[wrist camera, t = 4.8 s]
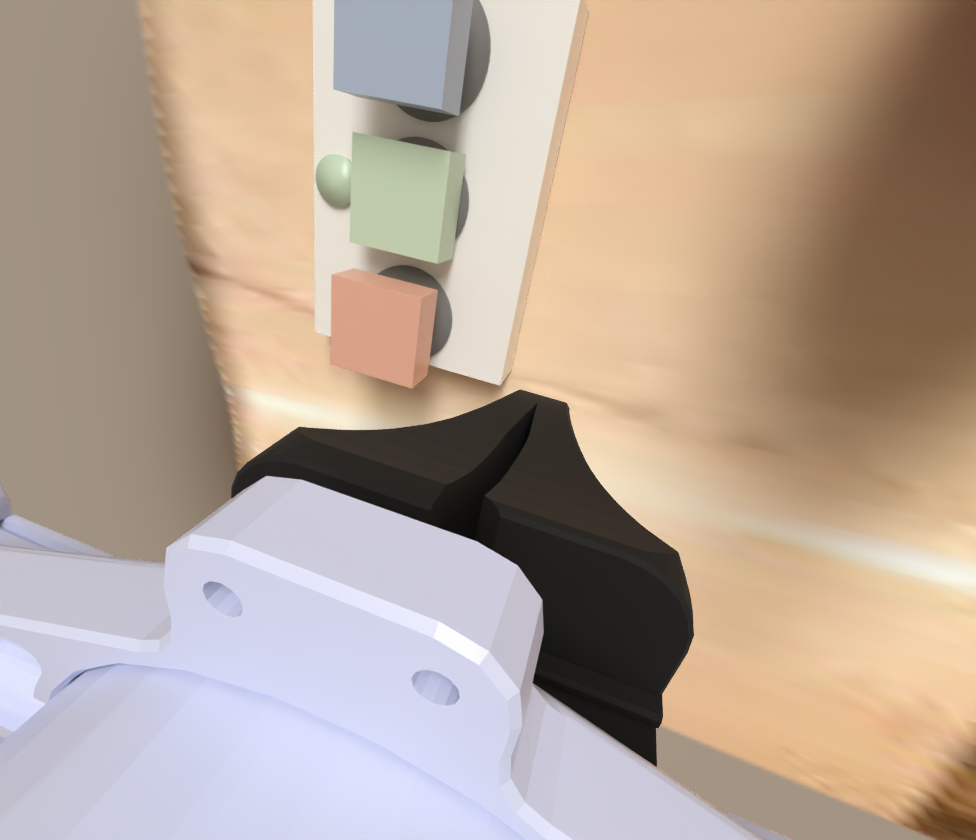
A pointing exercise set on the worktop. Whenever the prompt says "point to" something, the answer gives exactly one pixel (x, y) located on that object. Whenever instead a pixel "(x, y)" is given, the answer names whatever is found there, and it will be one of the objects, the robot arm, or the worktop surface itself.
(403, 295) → the terracotta button
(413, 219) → the sage button
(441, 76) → the slate button
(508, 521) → the robot arm
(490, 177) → the console
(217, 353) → the worktop surface
